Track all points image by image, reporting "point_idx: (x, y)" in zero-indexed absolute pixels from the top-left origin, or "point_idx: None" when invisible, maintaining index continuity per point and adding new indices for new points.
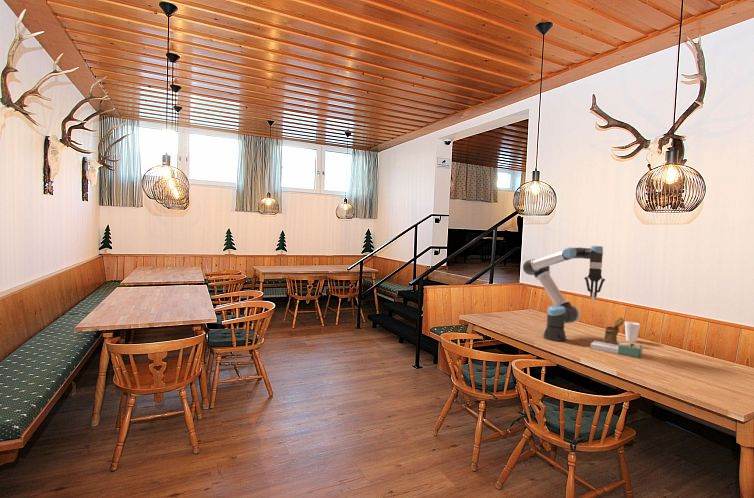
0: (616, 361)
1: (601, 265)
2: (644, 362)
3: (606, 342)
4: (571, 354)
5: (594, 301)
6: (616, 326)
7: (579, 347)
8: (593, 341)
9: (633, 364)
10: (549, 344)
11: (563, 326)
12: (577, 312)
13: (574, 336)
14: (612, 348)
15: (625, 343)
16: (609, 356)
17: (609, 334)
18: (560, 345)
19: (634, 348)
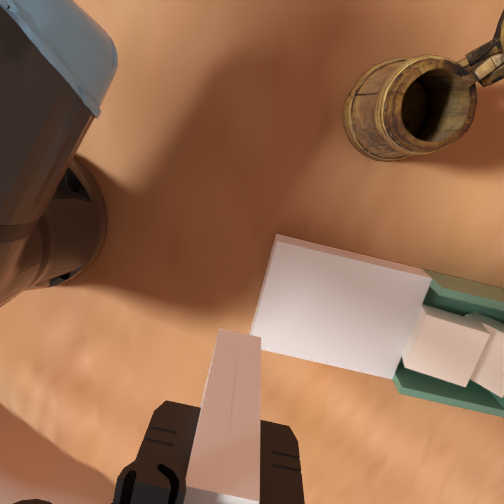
0: (349, 494)
1: None
2: (480, 447)
3: (362, 151)
4: None
5: (259, 347)
6: (497, 71)
7: (191, 345)
8: (268, 272)
9: (416, 500)
10: (38, 373)
11: (39, 266)
12: (77, 76)
13: (151, 47)
14: (362, 371)
15: (454, 346)
16: (330, 433)
17: (396, 151)
18: (93, 361)
19: (479, 411)
